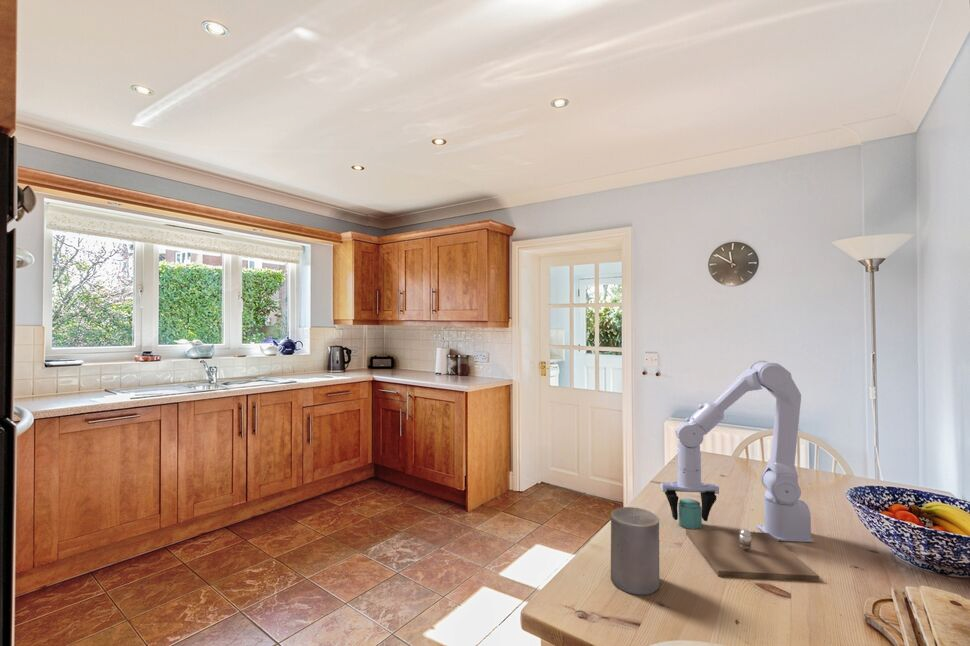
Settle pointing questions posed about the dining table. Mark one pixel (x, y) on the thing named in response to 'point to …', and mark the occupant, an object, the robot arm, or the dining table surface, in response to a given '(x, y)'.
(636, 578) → the pillar candle
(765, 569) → the brown flat square slab
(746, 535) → the stud
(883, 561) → the dining table surface
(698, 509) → the cap
